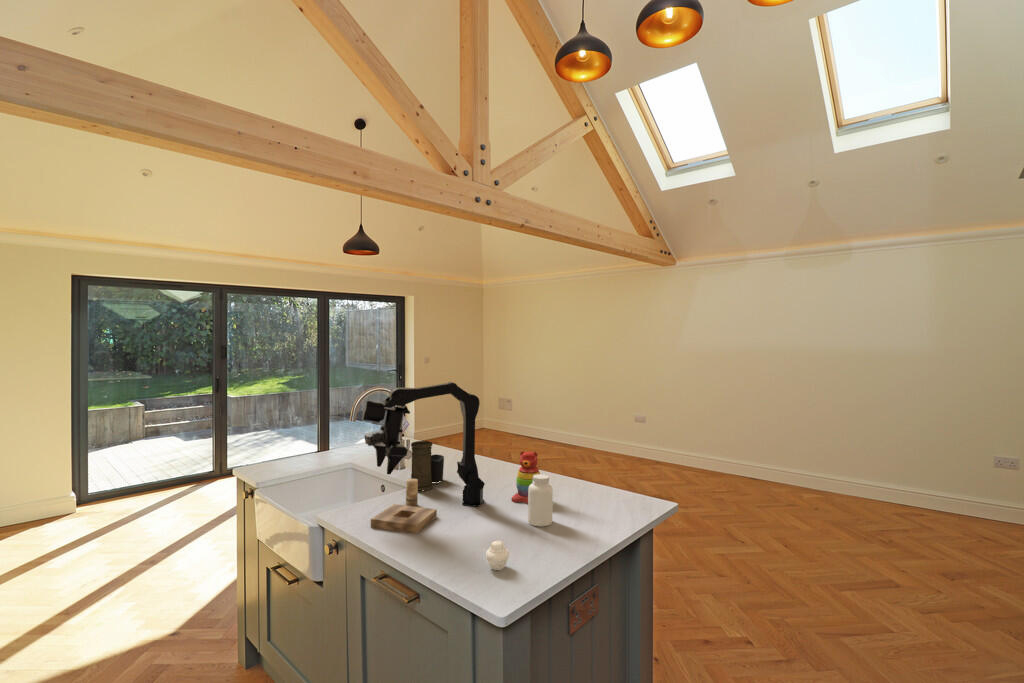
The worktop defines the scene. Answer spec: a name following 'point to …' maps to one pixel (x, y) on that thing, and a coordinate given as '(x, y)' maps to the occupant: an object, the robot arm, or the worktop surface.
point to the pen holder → (437, 468)
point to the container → (422, 464)
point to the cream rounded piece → (497, 555)
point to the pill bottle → (540, 501)
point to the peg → (411, 492)
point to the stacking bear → (525, 475)
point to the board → (404, 518)
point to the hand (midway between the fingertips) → (383, 470)
